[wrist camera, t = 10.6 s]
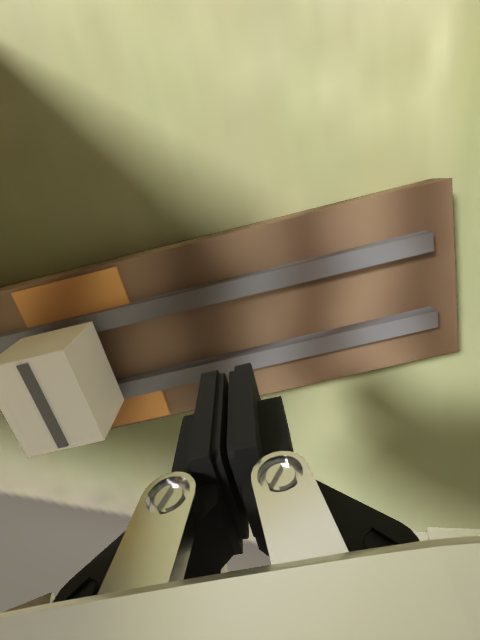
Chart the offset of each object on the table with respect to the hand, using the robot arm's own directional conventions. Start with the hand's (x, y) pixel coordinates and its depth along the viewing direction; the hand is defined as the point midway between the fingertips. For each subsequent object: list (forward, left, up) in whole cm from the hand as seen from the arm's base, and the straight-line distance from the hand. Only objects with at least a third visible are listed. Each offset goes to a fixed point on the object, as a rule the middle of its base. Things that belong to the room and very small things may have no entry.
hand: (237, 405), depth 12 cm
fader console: (+1, +1, -11) cm, 11 cm away
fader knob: (+9, +1, -9) cm, 13 cm away
